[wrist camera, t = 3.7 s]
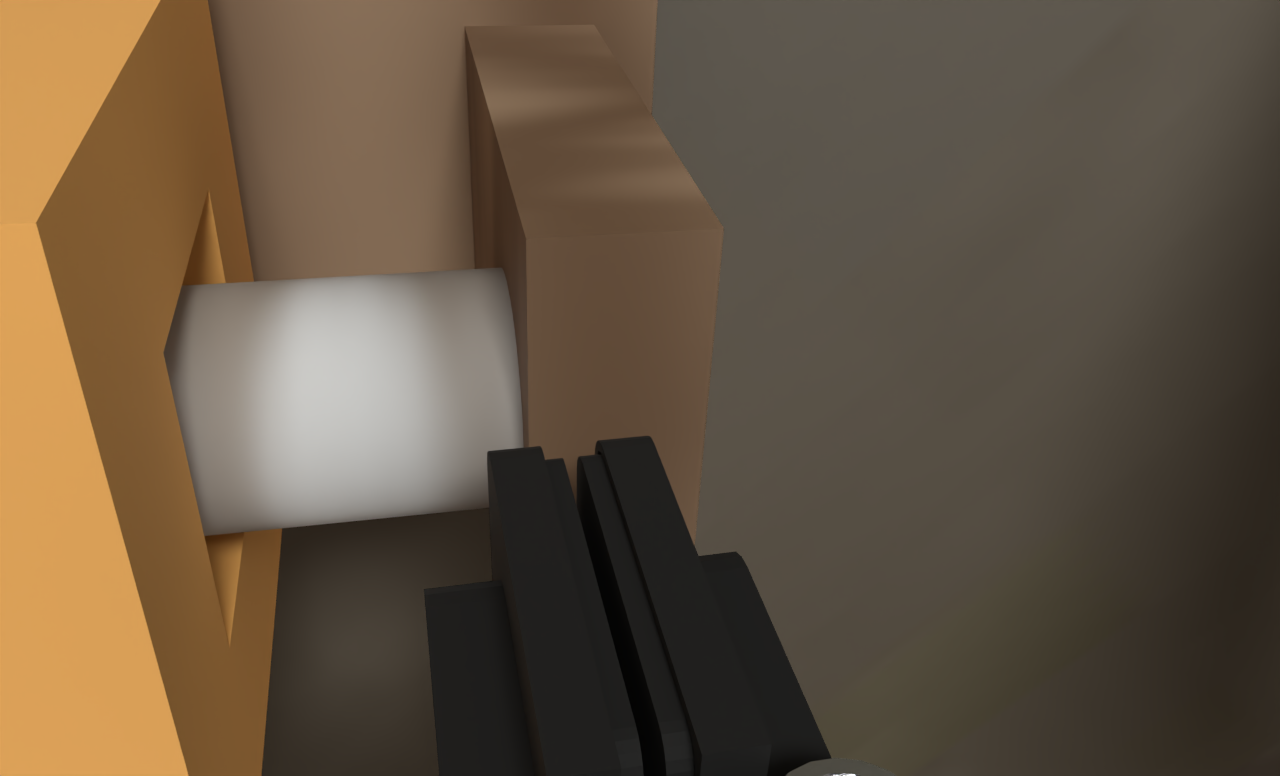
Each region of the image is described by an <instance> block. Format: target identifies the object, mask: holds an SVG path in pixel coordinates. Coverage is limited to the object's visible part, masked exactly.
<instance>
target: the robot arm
mask: <svg viewBox="0 0 1280 776" xmlns="http://www.w3.org/2000/svg"><path fill="white" fill-rule="evenodd" d="M487 473H488V495H489V517H490V539H491V561H492V581H489V582H481V583H472V584H464V585H456V586H448V587H439V588H431V589H424V594H425V607H426V619H427V631H428V643H429V655H430V667H431V679H432V691H433V703H434V715H435V727H436V739H437V751H438V764H439V776H896V775H894V774H893V773H891V772H890V771H888V770H886V769H883V768H880V767H878V766H875V765H872V764H869V763H867V762H864V761H860V760H851V759H842V758H831V756H830V754H829V751H828V749H827V747H826V745H825V742H824V740H823V738H822V735H821V733H820V731H819V729H818V726H817V724H816V722H815V720H814V717H813V715H812V713H811V710H810V708H809V706H808V704H807V701H806V699H805V697H804V695H803V692H802V690H801V688H800V685H799V683H798V681H797V679H796V676H795V674H794V672H793V670H792V667H791V665H790V663H789V661H788V658H787V656H786V654H785V651H784V649H783V647H782V645H781V642H780V640H779V638H778V636H777V633H776V631H775V629H774V626H773V624H772V622H771V620H770V617H769V615H768V613H767V611H766V608H765V606H764V604H763V601H762V599H761V597H760V595H759V592H758V590H757V588H756V586H755V583H754V581H753V579H752V576H751V574H750V572H749V570H748V567H747V566H746V564H745V562H744V560H743V558H742V557H741V556H740V555H739V554H738V553H737V552H729V553H721V554H713V555H705V556H698V554H697V551H696V549H695V546H694V543H693V541H692V538H691V536H690V533H689V531H688V528H687V526H686V523H685V520H684V518H683V515H682V513H681V510H680V508H679V505H678V503H677V500H676V497H675V495H674V492H673V490H672V487H671V485H670V482H669V480H668V477H667V474H666V472H665V469H664V467H663V464H662V462H661V459H660V457H659V454H658V451H657V449H656V446H655V444H654V442H653V440H652V438H651V437H650V436H638V437H628V438H618V439H607V440H598V441H597V442H596V446H595V455H587V456H579V457H578V460H577V496H576V502H575V498H574V495H573V491H572V487H571V484H570V480H569V476H568V473H567V469H566V465H565V462H564V459H563V458H557V459H547V460H545V457H544V453H543V450H542V448H541V446H535V447H525V448H515V449H504V450H494V451H488V452H487Z"/></svg>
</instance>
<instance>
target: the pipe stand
mask: <svg viewBox="0 0 1280 776" xmlns="http://www.w3.org/2000/svg"><path fill="white" fill-rule="evenodd" d="M657 2H658V0H208V5H209V11H210V17H211V23H212V29H213V35H214V41H215V47H216V53H217V59H218V65H219V72H220V78H221V84H222V90H223V96H224V102H225V108H226V114H227V120H228V126H229V132H230V138H231V144H232V151H233V157H234V163H235V169H236V175H237V181H238V187H239V193H240V199H241V205H242V211H243V217H244V223H245V230H246V236H247V242H248V248H249V254H250V260H251V266H252V272H253V278H254V282H238V283H220V284H202V285H185V286H182V287H181V290H180V294H179V297H178V301H177V305H176V308H175V312H174V316H173V319H172V323H171V327H170V330H169V334H168V338H167V341H166V345H165V348H164V352H163V353H164V358H165V362H166V367H167V371H168V376H169V380H170V385H171V389H172V394H173V398H174V403H175V407H176V412H177V416H178V421H179V425H180V429H181V434H182V438H183V443H184V447H185V452H186V456H187V461H188V465H189V470H190V474H191V479H192V483H193V488H194V492H195V497H196V501H197V506H198V510H199V515H200V519H201V523H202V528H203V532H204V536H210V535H220V534H230V533H240V532H250V531H261V530H271V529H281V528H291V527H301V526H311V525H321V524H331V523H341V522H351V521H361V520H371V519H381V518H391V517H401V516H412V515H422V514H432V513H442V512H452V511H462V510H472V509H482V508H489V495H488V473H487V452H488V451H494V450H504V449H515V448H525V447H535V446H541V448H542V450H543V453H544V457H545V460H547V459H557V458H563V459H564V462H565V465H566V469H567V473H568V476H569V480H570V484H571V487H572V491H573V495H574V498H575V502H576V496H577V460H578V457H579V456H587V455H595V446H596V442H597V441H598V440H607V439H618V438H628V437H638V436H650V437H651V438H652V440H653V442H654V444H655V446H656V449H657V451H658V454H659V457H660V459H661V462H662V464H663V467H664V469H665V472H666V474H667V477H668V480H669V482H670V485H671V487H672V490H673V492H674V495H675V497H676V500H677V503H678V505H679V508H680V510H681V513H682V515H683V518H684V520H685V523H686V526H687V528H688V531H689V533H690V536H691V538H692V541H693V543H694V546H695V536H696V525H697V514H698V503H699V493H700V482H701V471H702V460H703V449H704V439H705V428H706V417H707V406H708V395H709V384H710V374H711V363H712V352H713V341H714V330H715V320H716V309H717V298H718V287H719V276H720V266H721V255H722V244H723V233H724V228H723V226H722V225H721V223H720V222H719V220H718V219H717V217H716V215H715V214H714V212H713V211H712V209H711V208H710V206H709V204H708V203H707V201H706V200H705V198H704V197H703V195H702V193H701V192H700V190H699V189H698V187H697V186H696V184H695V182H694V181H693V179H692V178H691V176H690V175H689V173H688V171H687V170H686V168H685V167H684V165H683V164H682V162H681V160H680V159H679V157H678V156H677V154H676V153H675V151H674V149H673V148H672V146H671V145H670V143H669V142H668V140H667V138H666V137H665V135H664V134H663V132H662V131H661V129H660V127H659V126H658V124H657V123H656V121H655V120H654V118H653V117H652V100H653V81H654V61H655V41H656V21H657Z"/></svg>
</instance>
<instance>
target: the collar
mask: <svg viewBox="0 0 1280 776" xmlns="http://www.w3.org/2000/svg"><path fill="white" fill-rule="evenodd" d="M238 282H254V278H253V272H252V266H251V260H250V254H249V248H248V242H247V236H246V230H245V223H244V217H243V211H242V205H241V199H240V193H239V187H238V181H237V175H236V169H235V163H234V157H233V151H232V144H231V138H230V132H229V126H228V120H227V114H226V108H225V102H224V96H223V90H222V84H221V78H220V72H219V65H218V59H217V53H216V47H215V41H214V35H213V29H212V23H211V17H210V11H209V5H208V0H0V776H261V774H262V762H263V750H264V738H265V727H266V715H267V703H268V691H269V679H270V667H271V655H272V643H273V632H274V620H275V608H276V596H277V584H278V572H279V560H280V548H281V537H282V528H281V529H271V530H261V531H250V532H240V533H230V534H220V535H210V536H204V532H203V528H202V523H201V519H200V515H199V510H198V506H197V501H196V497H195V492H194V488H193V483H192V479H191V474H190V470H189V465H188V461H187V456H186V452H185V447H184V443H183V438H182V434H181V429H180V425H179V421H178V416H177V412H176V407H175V403H174V398H173V394H172V389H171V385H170V380H169V376H168V371H167V367H166V362H165V358H164V353H163V352H164V348H165V345H166V341H167V338H168V334H169V330H170V327H171V323H172V319H173V316H174V312H175V308H176V305H177V301H178V297H179V294H180V290H181V287H182V286H185V285H202V284H220V283H238Z"/></svg>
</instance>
